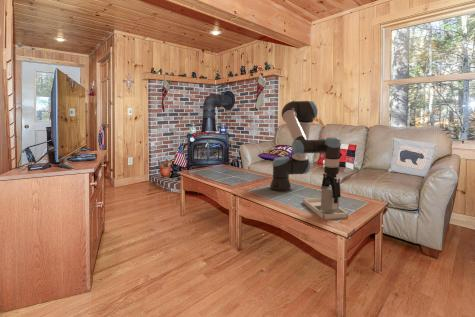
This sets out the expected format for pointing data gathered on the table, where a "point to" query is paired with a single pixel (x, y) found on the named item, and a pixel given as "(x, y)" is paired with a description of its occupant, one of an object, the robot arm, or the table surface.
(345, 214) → the tray
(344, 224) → the table surface
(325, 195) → the white speckled round cylinder
